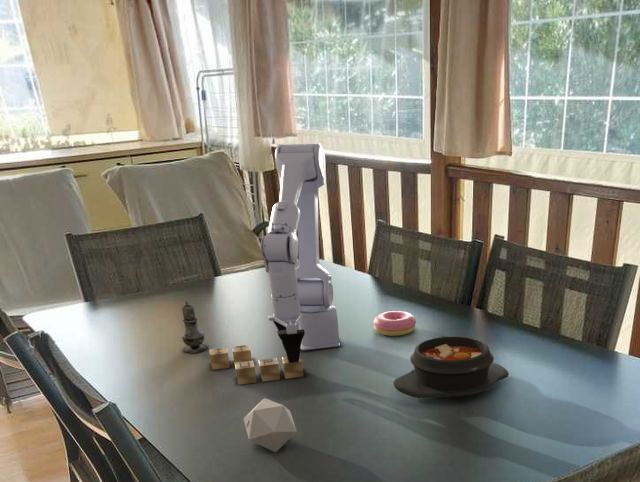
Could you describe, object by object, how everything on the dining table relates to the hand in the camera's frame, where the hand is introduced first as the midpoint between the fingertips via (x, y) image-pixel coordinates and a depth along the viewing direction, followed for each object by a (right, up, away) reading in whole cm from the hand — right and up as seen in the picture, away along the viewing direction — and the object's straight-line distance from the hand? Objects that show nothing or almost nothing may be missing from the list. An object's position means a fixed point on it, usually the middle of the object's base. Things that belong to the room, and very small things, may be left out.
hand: (291, 355), depth 151 cm
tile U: (-10, -5, 0) cm, 11 cm away
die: (0, -22, -26) cm, 34 cm away
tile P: (-5, -4, +1) cm, 7 cm away
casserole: (+34, -8, -7) cm, 36 cm away
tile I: (-18, -1, +9) cm, 20 cm away
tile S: (0, -4, +2) cm, 4 cm away
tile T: (-12, 0, +10) cm, 16 cm away
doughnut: (+23, +11, +25) cm, 36 cm away
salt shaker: (-26, +6, +19) cm, 33 cm away
